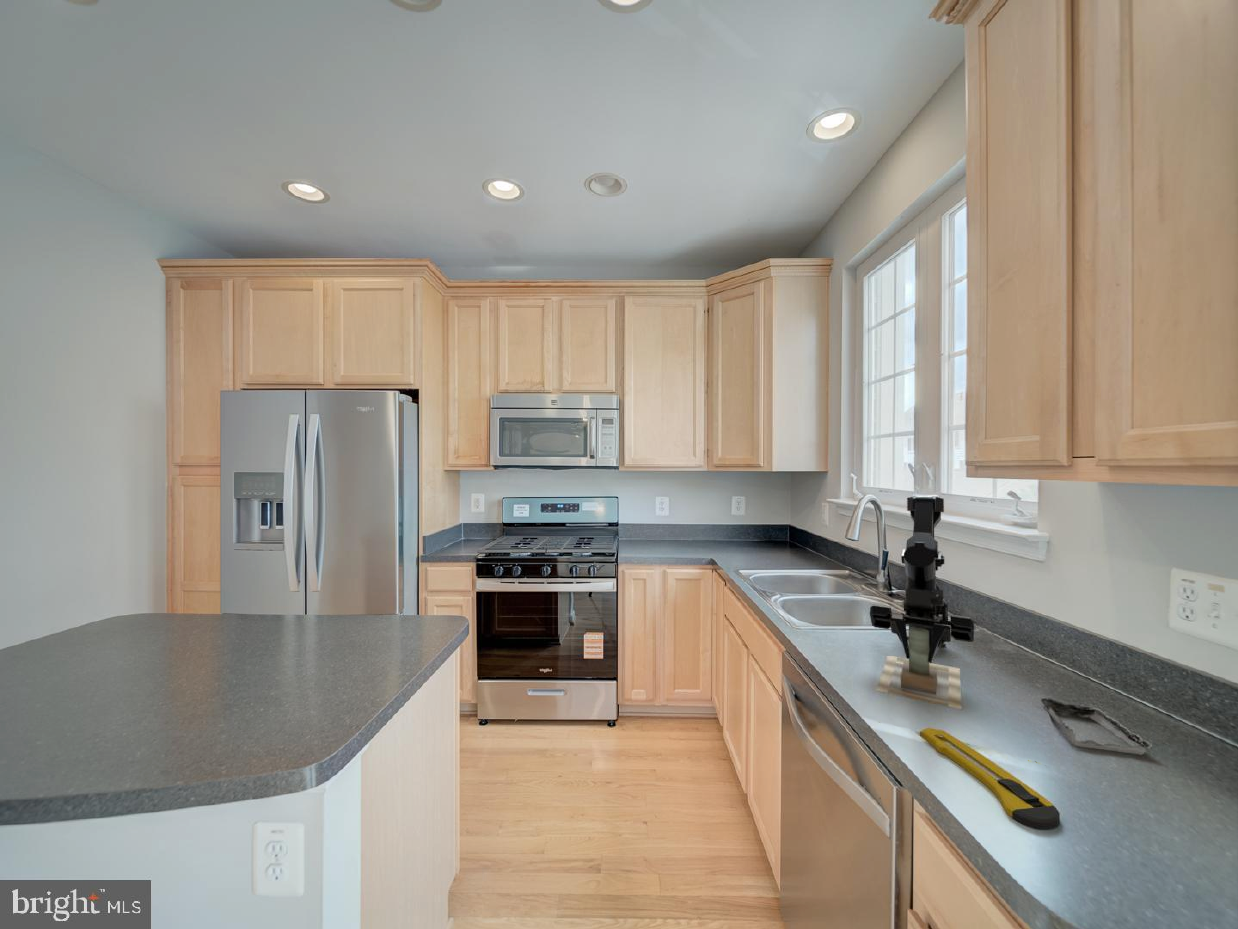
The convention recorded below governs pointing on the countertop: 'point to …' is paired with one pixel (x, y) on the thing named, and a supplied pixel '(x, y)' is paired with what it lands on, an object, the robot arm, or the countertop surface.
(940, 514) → the robot arm
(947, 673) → the wooden frame
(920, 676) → the grey-green cylinder
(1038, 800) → the utility knife
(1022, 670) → the countertop surface
